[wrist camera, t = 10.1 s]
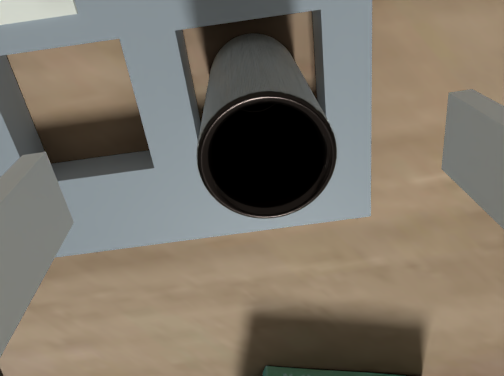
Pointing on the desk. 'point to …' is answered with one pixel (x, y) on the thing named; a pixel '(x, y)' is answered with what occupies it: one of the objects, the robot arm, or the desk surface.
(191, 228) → the socket board
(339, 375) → the box
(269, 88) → the grey hollow cylinder
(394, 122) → the desk surface
